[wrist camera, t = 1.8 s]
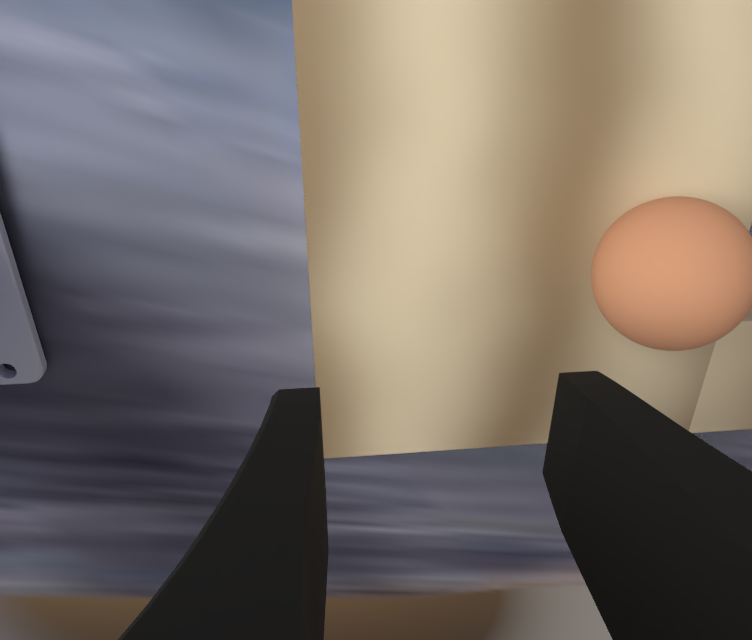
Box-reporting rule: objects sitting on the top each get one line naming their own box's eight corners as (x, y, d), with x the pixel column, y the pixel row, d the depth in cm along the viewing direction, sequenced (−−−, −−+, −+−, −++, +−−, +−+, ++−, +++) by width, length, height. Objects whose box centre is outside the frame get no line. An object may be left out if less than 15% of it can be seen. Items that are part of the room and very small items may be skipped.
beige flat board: (318, 407, 21) (320, 459, 19) (291, -43, 15) (289, -43, 13) (825, 375, 23) (880, 420, 20) (1000, -45, 16) (1107, -46, 14)
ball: (560, 308, 17) (616, 386, 14) (580, 178, 15) (650, 233, 12) (687, 302, 18) (769, 376, 14) (721, 173, 16) (823, 226, 13)
